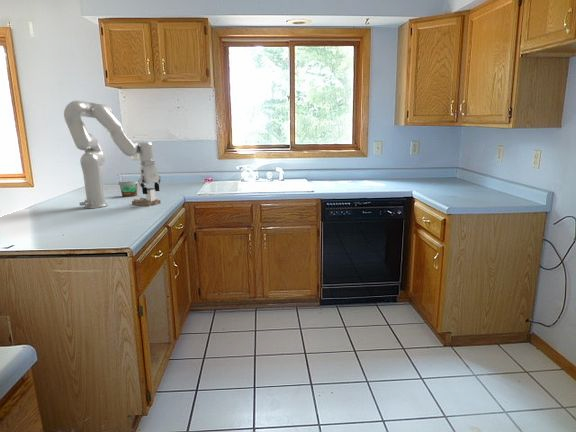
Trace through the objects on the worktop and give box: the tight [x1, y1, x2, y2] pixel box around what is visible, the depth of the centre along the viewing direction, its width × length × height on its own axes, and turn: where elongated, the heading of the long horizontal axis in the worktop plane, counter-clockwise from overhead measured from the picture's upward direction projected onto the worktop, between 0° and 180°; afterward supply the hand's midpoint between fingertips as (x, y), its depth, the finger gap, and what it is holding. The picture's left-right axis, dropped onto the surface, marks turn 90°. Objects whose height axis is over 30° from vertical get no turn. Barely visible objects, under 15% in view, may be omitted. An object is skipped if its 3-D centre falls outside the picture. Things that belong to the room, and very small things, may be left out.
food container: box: [118, 180, 139, 198], centre depth 276 cm, size 12×6×10 cm, turn 105°
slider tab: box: [145, 187, 157, 201], centre depth 247 cm, size 4×4×7 cm
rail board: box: [131, 197, 162, 207], centre depth 250 cm, size 9×14×3 cm, turn 63°
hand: (151, 192), depth 247 cm, fingers open, 9 cm apart
